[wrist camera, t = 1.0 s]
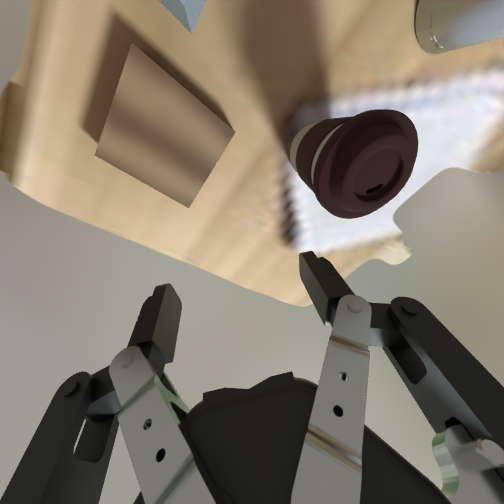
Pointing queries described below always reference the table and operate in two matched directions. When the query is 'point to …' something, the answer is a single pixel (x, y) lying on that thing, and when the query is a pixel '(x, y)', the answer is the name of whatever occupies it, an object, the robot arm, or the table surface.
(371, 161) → the coffee cup
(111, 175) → the table surface
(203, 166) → the base
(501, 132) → the table surface
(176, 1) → the block
